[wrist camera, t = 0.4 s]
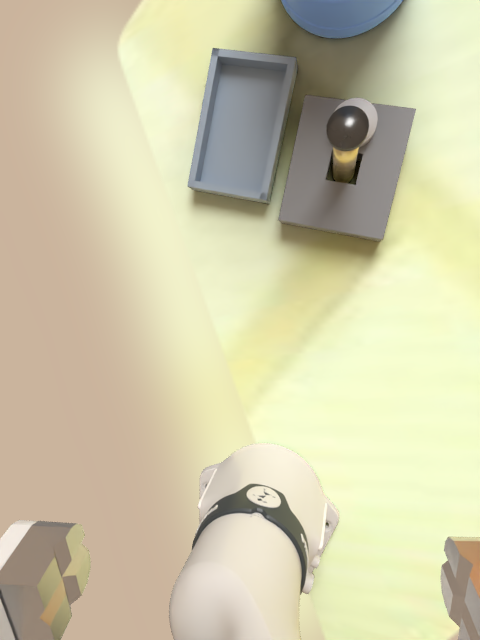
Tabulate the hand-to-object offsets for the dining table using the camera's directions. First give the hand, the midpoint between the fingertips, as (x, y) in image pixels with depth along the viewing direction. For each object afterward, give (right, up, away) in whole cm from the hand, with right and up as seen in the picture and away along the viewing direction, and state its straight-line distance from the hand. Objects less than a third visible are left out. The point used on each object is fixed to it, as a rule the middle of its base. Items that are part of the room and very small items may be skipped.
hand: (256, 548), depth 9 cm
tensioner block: (+12, +23, +40) cm, 48 cm away
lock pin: (+12, +23, +40) cm, 48 cm away
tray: (0, +28, +42) cm, 51 cm away
